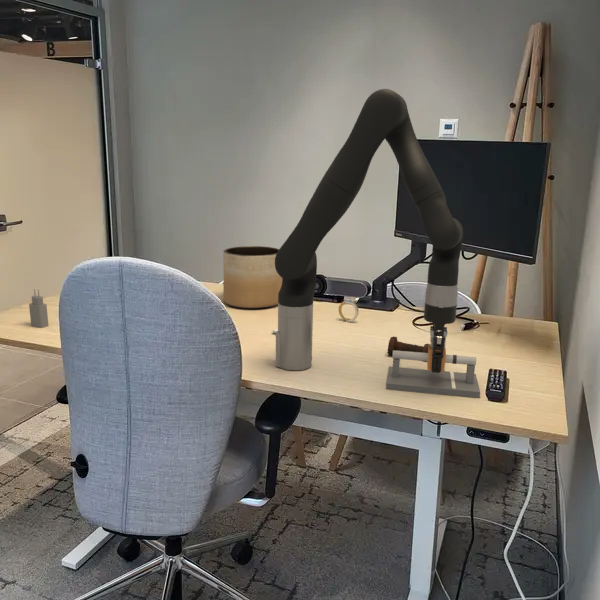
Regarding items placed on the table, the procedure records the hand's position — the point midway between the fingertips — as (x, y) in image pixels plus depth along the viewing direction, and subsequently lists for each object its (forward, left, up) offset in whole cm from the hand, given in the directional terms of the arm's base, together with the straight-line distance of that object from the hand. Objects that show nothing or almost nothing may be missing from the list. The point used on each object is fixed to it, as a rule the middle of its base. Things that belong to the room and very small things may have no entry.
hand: (435, 367), depth 144 cm
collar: (0, 0, 0) cm, 0 cm away
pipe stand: (-1, 0, -4) cm, 4 cm away
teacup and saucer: (-49, +34, -5) cm, 60 cm away
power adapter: (-124, +20, -5) cm, 125 cm away
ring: (-28, +50, -5) cm, 57 cm away
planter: (-66, +66, -5) cm, 93 cm away
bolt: (-5, +19, -5) cm, 20 cm away
